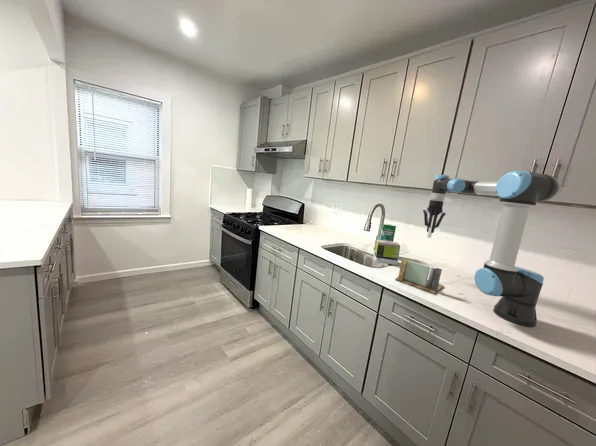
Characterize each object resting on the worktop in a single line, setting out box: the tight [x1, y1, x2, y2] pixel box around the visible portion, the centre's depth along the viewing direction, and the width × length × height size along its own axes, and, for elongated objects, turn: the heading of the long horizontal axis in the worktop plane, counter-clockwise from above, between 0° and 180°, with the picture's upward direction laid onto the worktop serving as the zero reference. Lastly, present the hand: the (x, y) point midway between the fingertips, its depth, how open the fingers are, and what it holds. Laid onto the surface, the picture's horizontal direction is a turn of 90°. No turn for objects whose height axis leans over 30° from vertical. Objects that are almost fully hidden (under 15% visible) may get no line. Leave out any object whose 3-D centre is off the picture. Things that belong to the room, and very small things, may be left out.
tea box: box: [373, 239, 401, 266], centre depth 176 cm, size 15×10×15 cm
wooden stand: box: [394, 258, 444, 296], centre depth 141 cm, size 21×18×13 cm
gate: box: [404, 259, 436, 288], centre depth 139 cm, size 17×2×11 cm, turn 45°
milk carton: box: [378, 223, 397, 242], centre depth 192 cm, size 9×9×25 cm
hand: (428, 237), depth 157 cm, fingers closed
